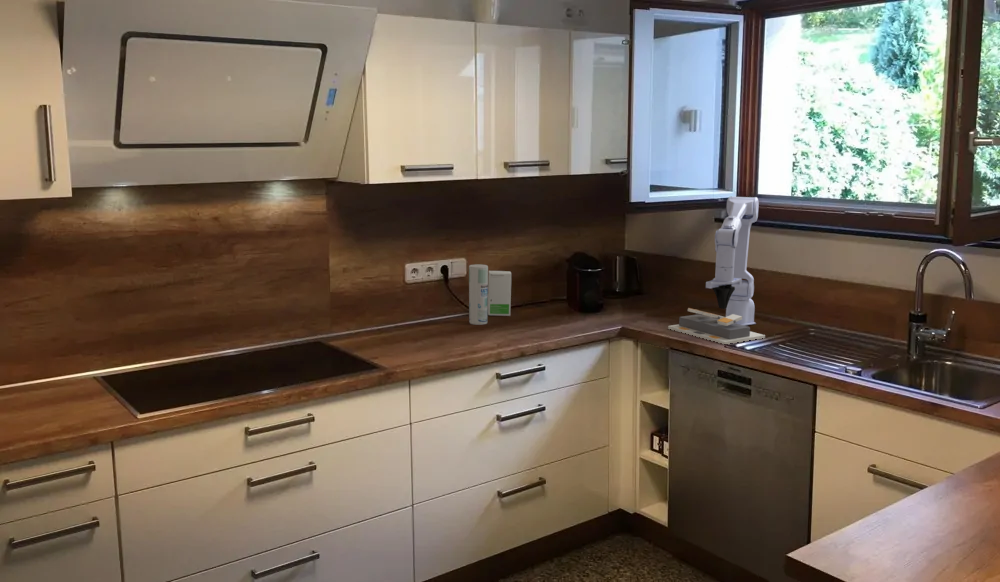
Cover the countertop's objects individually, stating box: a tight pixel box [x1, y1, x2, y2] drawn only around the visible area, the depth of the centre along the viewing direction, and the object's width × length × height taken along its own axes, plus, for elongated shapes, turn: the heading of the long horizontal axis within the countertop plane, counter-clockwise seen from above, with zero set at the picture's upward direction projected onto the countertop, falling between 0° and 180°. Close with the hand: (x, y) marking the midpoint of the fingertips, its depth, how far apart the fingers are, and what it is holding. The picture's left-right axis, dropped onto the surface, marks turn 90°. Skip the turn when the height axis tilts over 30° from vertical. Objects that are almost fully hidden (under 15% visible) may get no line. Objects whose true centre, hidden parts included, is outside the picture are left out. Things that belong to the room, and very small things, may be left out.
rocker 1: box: [687, 307, 704, 315], centre depth 290 cm, size 7×4×1 cm, turn 122°
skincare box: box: [487, 270, 512, 317], centre depth 313 cm, size 8×7×16 cm
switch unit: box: [667, 313, 766, 345], centre depth 286 cm, size 18×26×4 cm
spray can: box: [468, 263, 489, 326], centre depth 298 cm, size 6×6×20 cm
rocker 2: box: [702, 311, 726, 319], centre depth 284 cm, size 7×4×1 cm, turn 122°
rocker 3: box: [717, 314, 742, 326], centre depth 278 cm, size 7×4×1 cm, turn 121°
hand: (722, 308), depth 277 cm, fingers closed
